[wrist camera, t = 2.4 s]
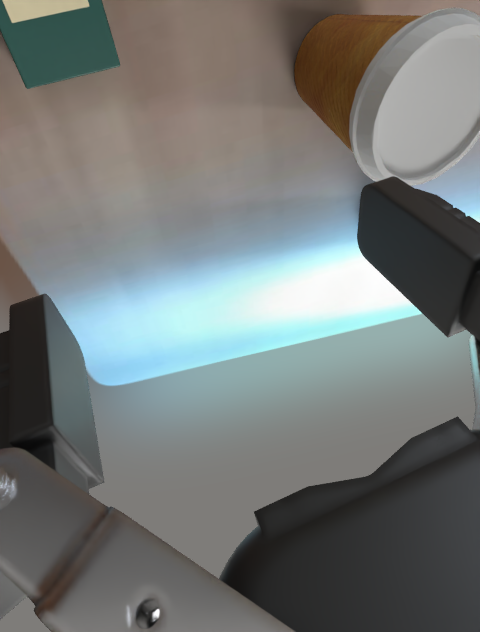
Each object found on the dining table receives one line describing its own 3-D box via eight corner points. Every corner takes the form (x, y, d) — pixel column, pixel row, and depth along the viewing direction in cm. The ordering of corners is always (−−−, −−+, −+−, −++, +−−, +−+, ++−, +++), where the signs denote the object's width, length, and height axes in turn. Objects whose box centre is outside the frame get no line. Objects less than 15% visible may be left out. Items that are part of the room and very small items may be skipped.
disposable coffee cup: (362, 130, 37) (460, 190, 29) (263, 128, 33) (343, 195, 25) (404, -5, 31) (544, 22, 23) (289, -25, 27) (405, -1, 19)
